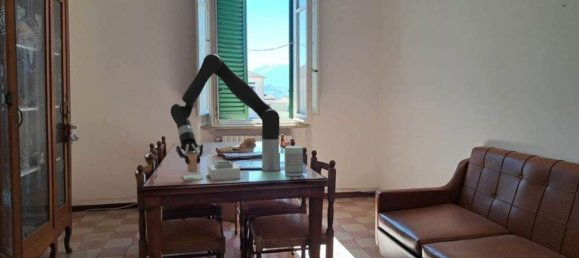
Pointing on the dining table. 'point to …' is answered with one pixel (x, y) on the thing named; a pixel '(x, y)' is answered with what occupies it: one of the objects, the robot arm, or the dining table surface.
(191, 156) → the tan brown block
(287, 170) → the supplement tub
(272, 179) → the dining table surface
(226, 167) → the parts tub
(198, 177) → the sage mat
